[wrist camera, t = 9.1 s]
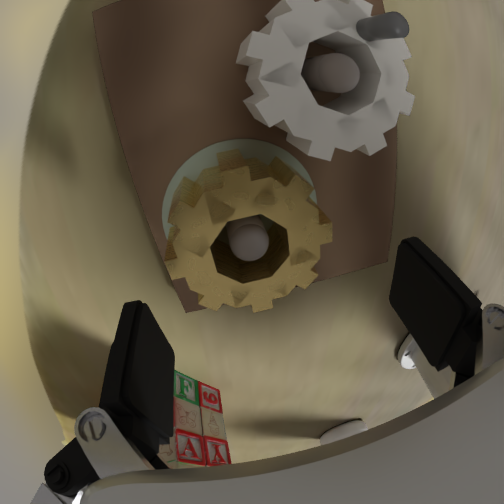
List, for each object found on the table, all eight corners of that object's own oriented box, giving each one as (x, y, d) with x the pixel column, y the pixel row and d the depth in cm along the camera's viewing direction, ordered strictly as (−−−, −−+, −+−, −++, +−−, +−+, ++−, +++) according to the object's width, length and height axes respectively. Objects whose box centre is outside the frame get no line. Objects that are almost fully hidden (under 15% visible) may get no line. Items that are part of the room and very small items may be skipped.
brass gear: (302, 136, 12) (328, 151, 10) (312, 259, 16) (331, 292, 14) (151, 170, 12) (138, 194, 9) (192, 287, 16) (193, 326, 14)
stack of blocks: (118, 432, 31) (118, 505, 21) (82, 417, 28) (76, 495, 18) (221, 388, 26) (239, 500, 16) (173, 366, 23) (180, 498, 13)
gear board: (364, -12, 9) (417, -30, 5) (377, 249, 19) (413, 292, 15) (102, 18, 8) (62, -5, 4) (186, 297, 19) (186, 354, 15)
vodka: (372, 417, 43) (420, 537, 19) (339, 437, 47) (378, 549, 22) (343, 419, 39) (393, 559, 15) (308, 440, 43) (348, 567, 18)
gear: (335, -10, 8) (396, -37, 4) (396, 108, 12) (463, 129, 8) (204, 47, 9) (206, 22, 5) (287, 171, 13) (328, 215, 9)
